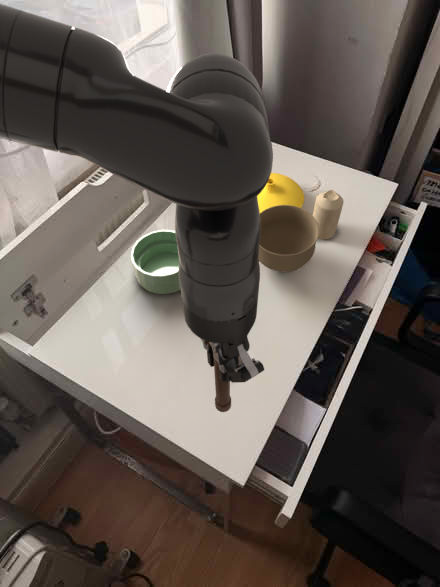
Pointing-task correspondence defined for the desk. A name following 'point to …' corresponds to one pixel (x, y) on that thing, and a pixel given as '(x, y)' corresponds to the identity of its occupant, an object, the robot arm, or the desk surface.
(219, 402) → the stirring stick
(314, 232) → the bowl
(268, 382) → the desk surface
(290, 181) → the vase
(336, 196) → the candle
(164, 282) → the mixing bowl
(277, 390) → the desk surface
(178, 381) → the desk surface
